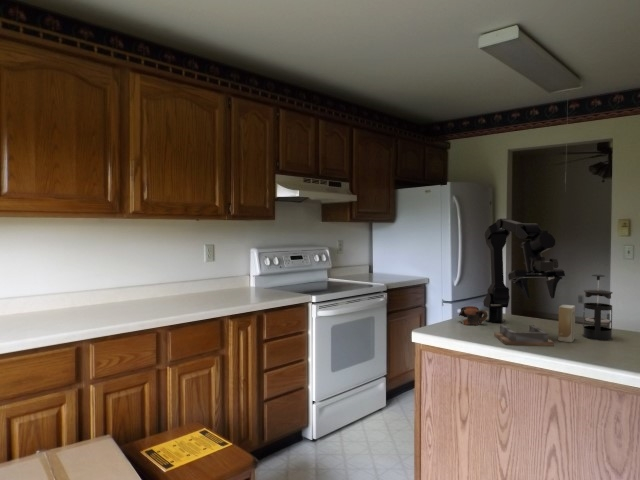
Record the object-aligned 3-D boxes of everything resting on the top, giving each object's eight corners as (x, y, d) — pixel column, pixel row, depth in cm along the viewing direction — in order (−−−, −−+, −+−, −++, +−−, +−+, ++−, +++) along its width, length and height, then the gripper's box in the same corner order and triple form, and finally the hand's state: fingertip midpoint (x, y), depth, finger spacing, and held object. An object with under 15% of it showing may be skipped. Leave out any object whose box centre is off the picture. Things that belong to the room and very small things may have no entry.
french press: (613, 342, 160) (614, 276, 160) (582, 338, 165) (583, 275, 164) (611, 335, 170) (612, 273, 170) (582, 332, 175) (583, 272, 174)
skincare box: (561, 337, 167) (562, 304, 167) (575, 339, 164) (575, 305, 164) (557, 340, 162) (558, 306, 162) (571, 342, 159) (572, 307, 159)
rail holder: (494, 335, 169) (494, 324, 169) (539, 336, 168) (539, 325, 168) (505, 344, 156) (505, 332, 156) (554, 345, 155) (554, 333, 155)
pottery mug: (456, 325, 189) (455, 306, 193) (465, 332, 195) (463, 313, 199) (485, 321, 182) (483, 302, 186) (493, 328, 189) (491, 309, 193)
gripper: (520, 250, 158) (527, 294, 153) (570, 250, 160) (579, 294, 155) (504, 258, 169) (511, 300, 164) (552, 258, 170) (560, 299, 166)
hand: (540, 298), depth 162 cm, fingers open, 9 cm apart
